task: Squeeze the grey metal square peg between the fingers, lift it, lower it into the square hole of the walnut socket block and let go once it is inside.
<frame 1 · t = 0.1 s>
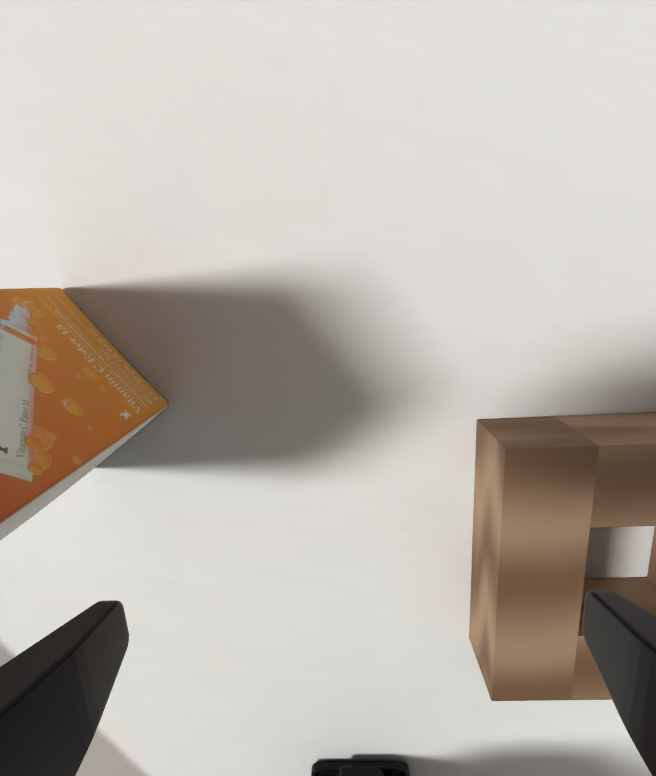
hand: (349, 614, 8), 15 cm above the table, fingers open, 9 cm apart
walnut socket block: (599, 532, 24), on the table
small box: (80, 381, 23), on the table
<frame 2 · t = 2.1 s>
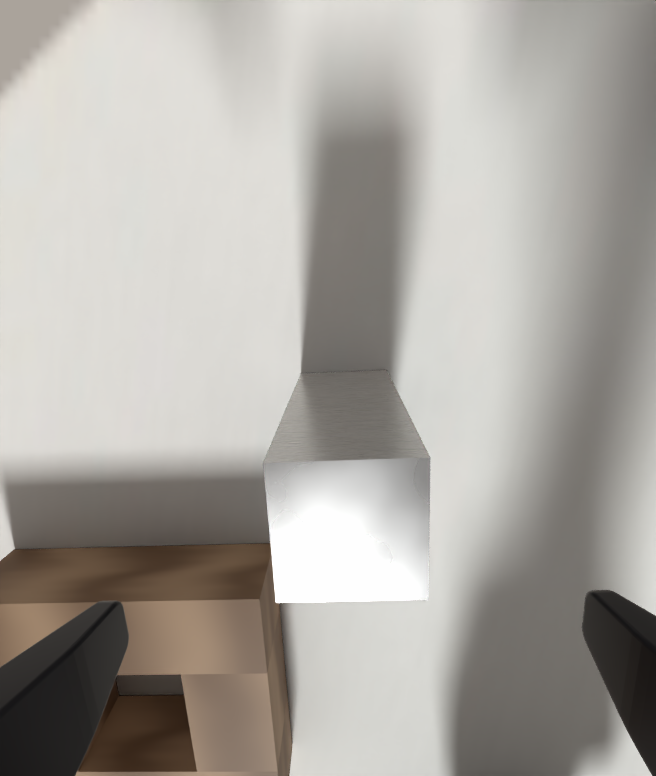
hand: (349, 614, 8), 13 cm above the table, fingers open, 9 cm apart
walnut socket block: (161, 653, 24), on the table
grey metal peg: (345, 412, 20), on the table
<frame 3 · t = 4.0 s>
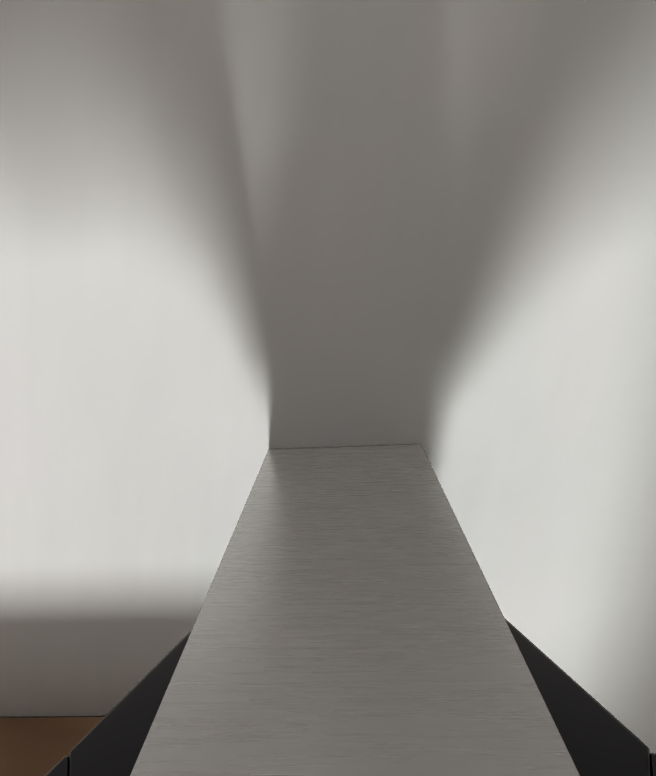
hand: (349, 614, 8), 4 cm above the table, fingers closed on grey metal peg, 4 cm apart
grey metal peg: (347, 514, 12), on the table, touching gripper
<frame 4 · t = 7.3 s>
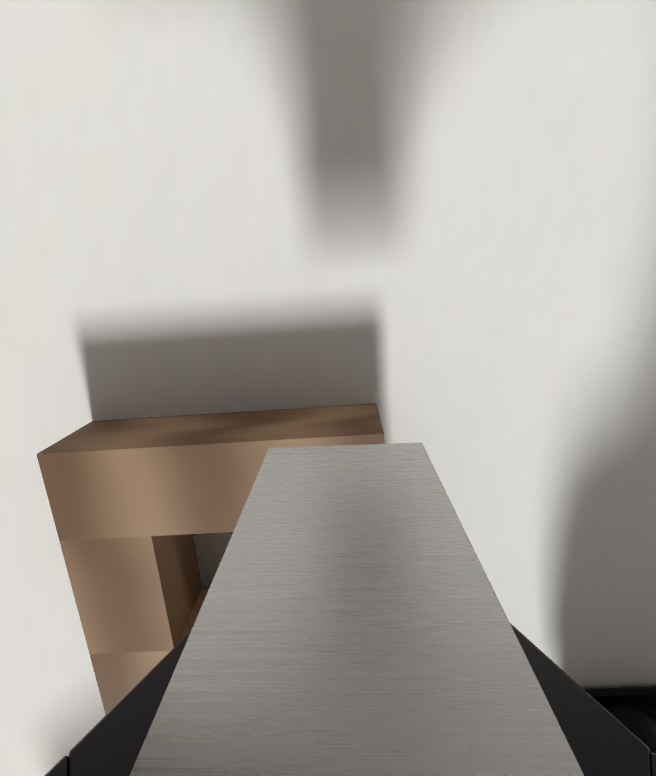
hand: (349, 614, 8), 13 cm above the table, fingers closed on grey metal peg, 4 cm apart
walnut socket block: (248, 538, 23), on the table
grey metal peg: (347, 513, 12), point 9 cm above the table, touching gripper
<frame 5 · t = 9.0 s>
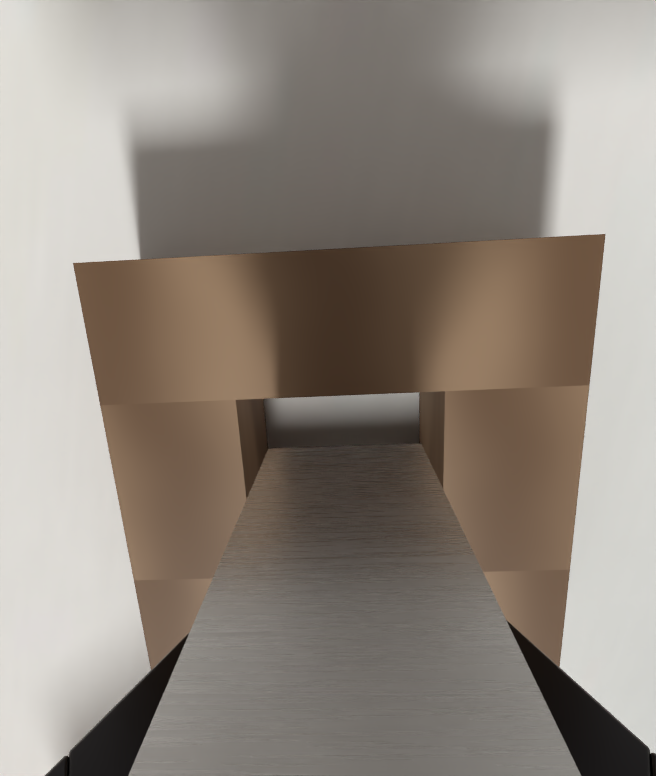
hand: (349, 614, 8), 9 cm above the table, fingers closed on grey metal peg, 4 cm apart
walnut socket block: (342, 441, 17), on the table
grey metal peg: (347, 514, 12), point 5 cm above the table, touching gripper
when the fingers open (5 cm above the table, at t = 10.5 s): grey metal peg drops 2 cm, resting in walnut socket block.
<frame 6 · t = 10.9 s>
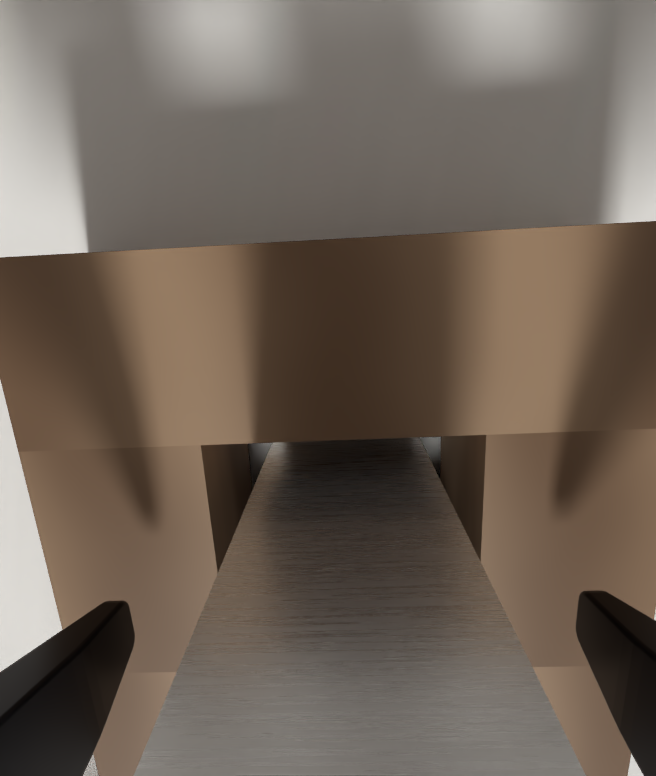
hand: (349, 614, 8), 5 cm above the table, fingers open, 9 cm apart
walnut socket block: (345, 482, 14), on the table
grey metal peg: (347, 480, 14), resting in walnut socket block
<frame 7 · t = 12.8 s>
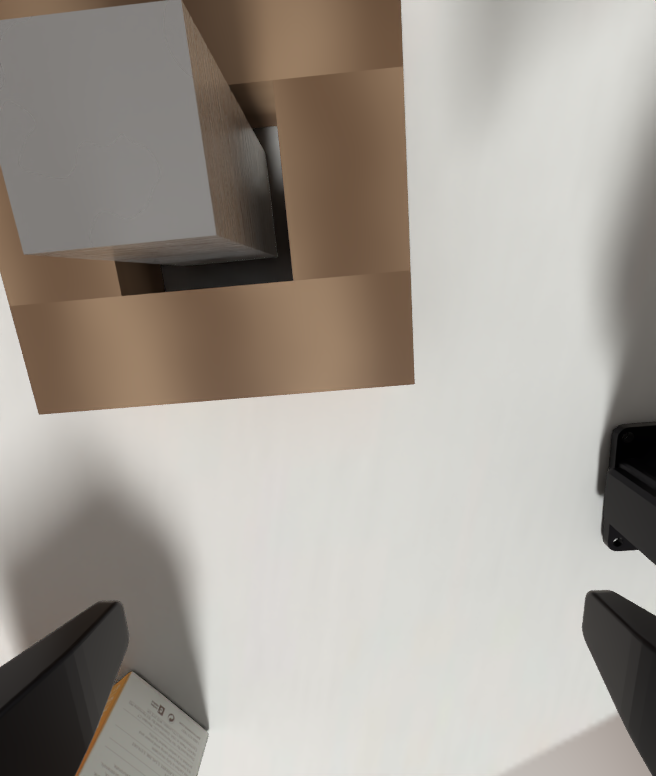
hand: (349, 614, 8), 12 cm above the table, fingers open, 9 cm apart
walnut socket block: (222, 212, 18), on the table
grey metal peg: (224, 211, 18), resting in walnut socket block
small box: (127, 730, 25), on the table
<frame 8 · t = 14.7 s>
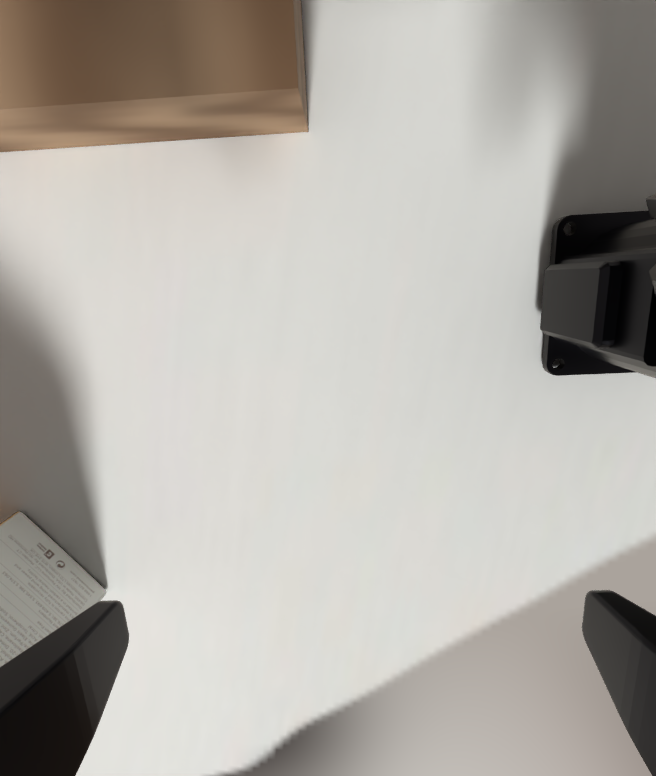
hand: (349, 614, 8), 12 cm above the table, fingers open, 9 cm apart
small box: (20, 586, 23), on the table
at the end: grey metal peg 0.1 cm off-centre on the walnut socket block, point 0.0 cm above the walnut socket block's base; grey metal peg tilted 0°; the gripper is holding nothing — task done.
